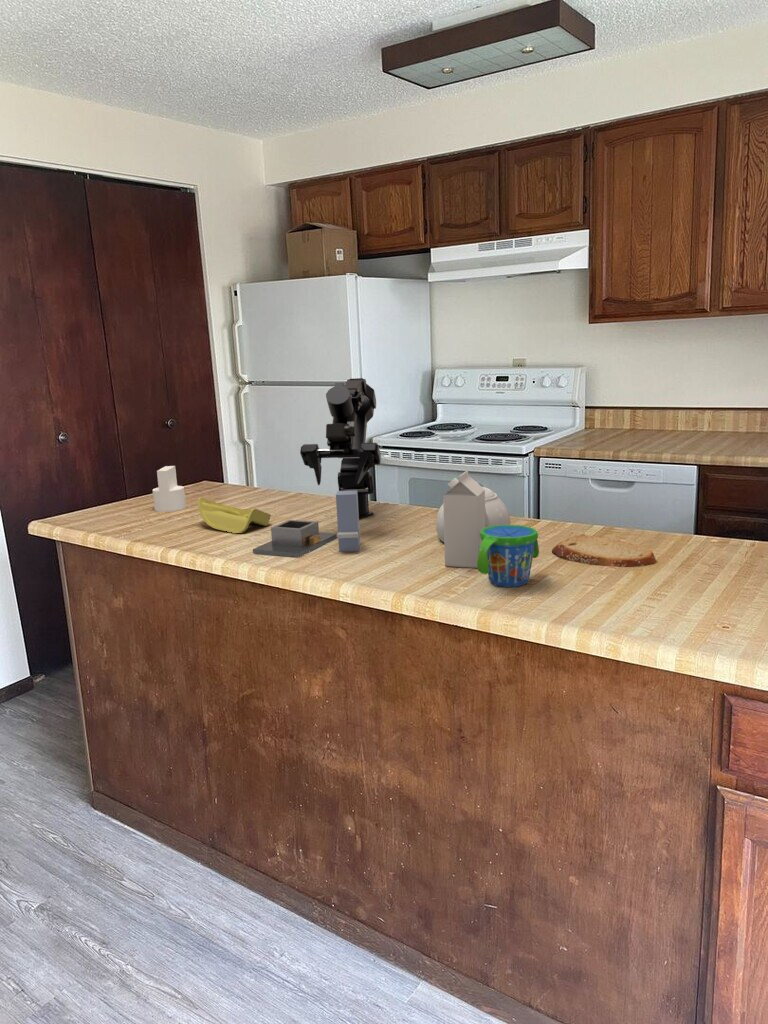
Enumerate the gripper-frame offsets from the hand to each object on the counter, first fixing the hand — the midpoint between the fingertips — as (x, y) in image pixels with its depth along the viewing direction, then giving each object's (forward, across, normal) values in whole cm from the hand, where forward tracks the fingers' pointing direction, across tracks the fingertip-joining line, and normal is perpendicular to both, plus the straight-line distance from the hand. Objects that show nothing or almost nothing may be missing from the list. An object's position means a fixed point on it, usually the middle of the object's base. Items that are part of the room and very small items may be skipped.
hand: (337, 483), depth 182 cm
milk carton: (+24, +30, -5) cm, 39 cm away
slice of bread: (+21, +58, -1) cm, 62 cm away
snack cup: (+33, +39, -14) cm, 53 cm away
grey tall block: (+15, +4, +4) cm, 16 cm away
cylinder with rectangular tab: (-16, -59, +37) cm, 71 cm away
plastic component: (0, -32, +21) cm, 38 cm away
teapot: (+10, +31, +10) cm, 34 cm away
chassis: (+13, -10, +6) cm, 17 cm away
